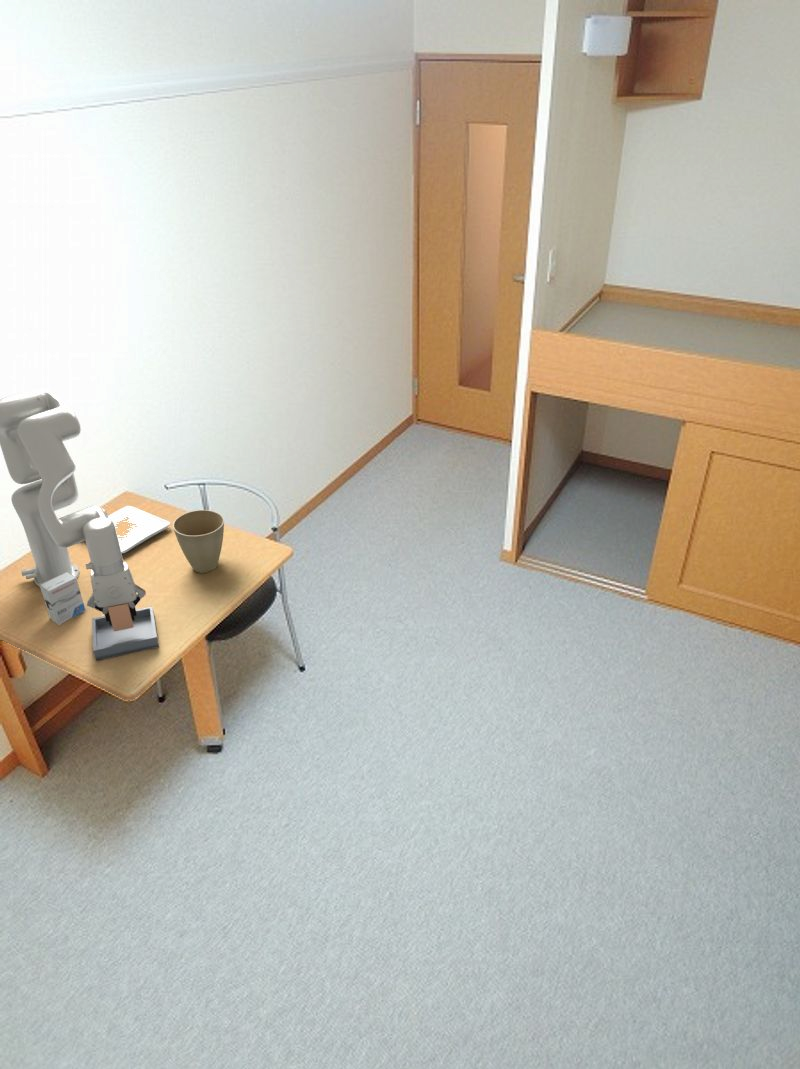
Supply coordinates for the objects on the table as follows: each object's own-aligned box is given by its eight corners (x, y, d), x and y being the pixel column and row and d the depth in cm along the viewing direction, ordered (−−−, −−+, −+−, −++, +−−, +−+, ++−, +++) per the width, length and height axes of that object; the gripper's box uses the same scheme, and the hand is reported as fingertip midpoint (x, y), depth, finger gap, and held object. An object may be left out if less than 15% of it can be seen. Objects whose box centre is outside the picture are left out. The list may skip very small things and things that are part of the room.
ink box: (76, 603, 216) (67, 570, 210) (86, 610, 214) (76, 577, 207) (49, 618, 211) (38, 584, 204) (58, 625, 208) (47, 591, 202)
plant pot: (192, 586, 224) (184, 541, 215) (173, 562, 234) (165, 519, 225) (238, 569, 231) (232, 525, 223) (217, 547, 241) (211, 504, 233)
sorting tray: (95, 660, 196) (93, 650, 194) (94, 628, 207) (91, 618, 205) (159, 647, 201) (156, 637, 199) (154, 615, 212) (152, 606, 210)
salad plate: (173, 530, 251) (172, 521, 249) (123, 560, 235) (121, 551, 234) (130, 512, 260) (128, 503, 258) (78, 540, 245) (76, 531, 243)
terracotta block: (113, 631, 198) (107, 607, 194) (113, 620, 202) (106, 596, 198) (133, 627, 200) (127, 603, 196) (132, 616, 204) (126, 592, 200)
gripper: (72, 579, 185) (88, 635, 195) (143, 565, 190) (156, 621, 200) (72, 562, 191) (88, 618, 201) (141, 550, 196) (154, 605, 206)
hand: (122, 619), depth 200 cm, fingers closed on terracotta block, 5 cm apart
